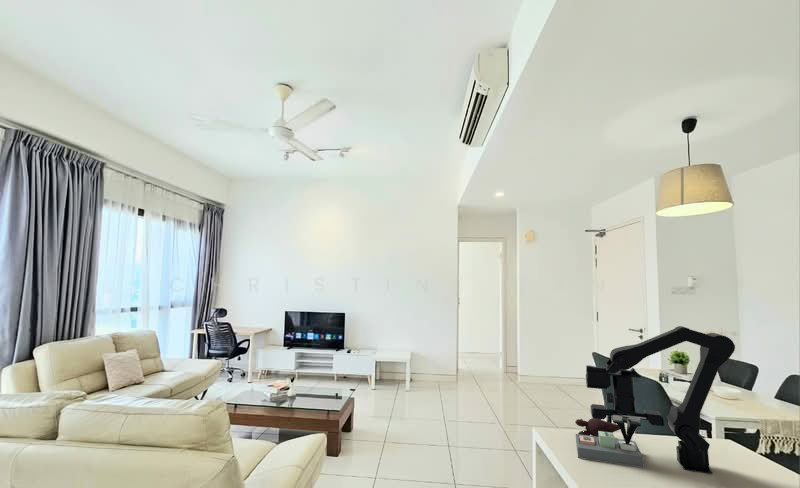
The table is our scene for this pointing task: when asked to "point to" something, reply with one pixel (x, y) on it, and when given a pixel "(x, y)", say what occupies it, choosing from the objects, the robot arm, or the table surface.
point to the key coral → (587, 440)
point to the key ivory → (627, 446)
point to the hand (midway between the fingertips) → (627, 443)
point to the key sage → (606, 439)
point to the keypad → (609, 453)
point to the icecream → (596, 426)
